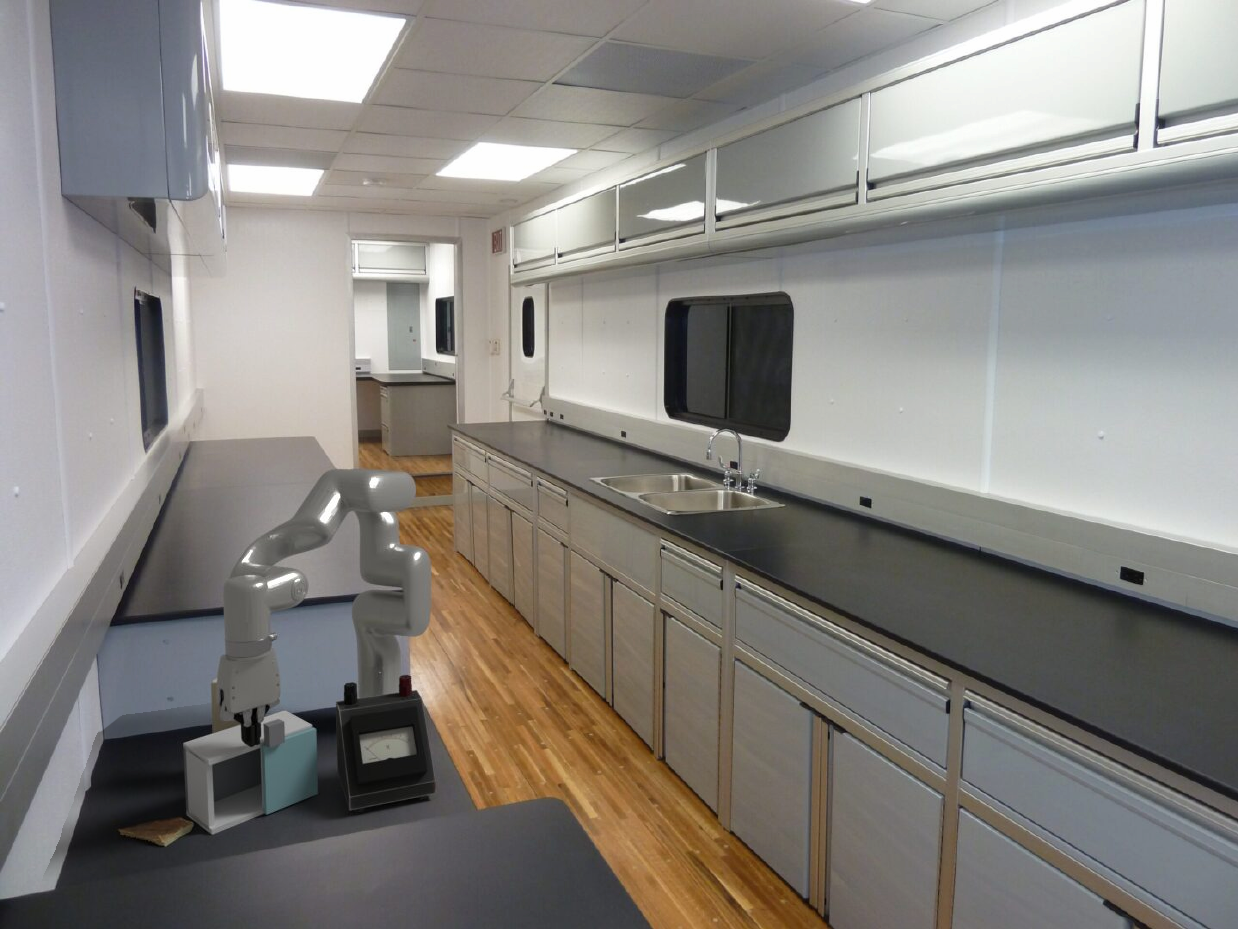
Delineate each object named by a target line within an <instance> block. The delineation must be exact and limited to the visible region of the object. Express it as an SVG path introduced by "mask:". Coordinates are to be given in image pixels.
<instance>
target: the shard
mask: <svg viewBox="0 0 1238 929" xmlns="http://www.w3.org/2000/svg"><path fill="white" fill-rule="evenodd" d="M193 827H194V822H193V821H192V820H191V821H190V820H186V819H184V818H182V817H181V816H179V817H178V816H177V817H172V818H171V817H170V818H166V819H160V820H153V821H149V822H144V823H139V824H136V825H131V826H126V827H125V826H124V827H120V828H117V830H118V831H119V833H120V836H124V835H126V836H125V837H129V836H130V837H129V838H135V837H136V839H138V838H139V840H143V841H144V840H145V841H146V840H148V841H147V842H150V841H152V842H151V843H153V842H154V843H153V844H157V845H158V846H163V847H167V846H168V845H170V844H171V843H173V842H174V841H176V840H178V839H179V838H181V837H183V836H185V835H187V834H188V833H190V832H191V831H192V829H193Z"/></svg>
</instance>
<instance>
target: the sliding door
mask: <svg viewBox="0 0 1238 929" xmlns="http://www.w3.org/2000/svg"><path fill="white" fill-rule="evenodd" d="M263 726H264V745H262V772H263V800H264V814H265V815H270V814H272V813H274V812H276V811H280V810H282V809H284V808H286V807H289V806H291V805H294V804H296V803H299V802H302V801H304V800H306V799H308V798H310V797H314V796H315V795H316V796H317V795H318V794H319V783H318V782H319V780H318V777H319V776H318V747H317V746H318V742H317V740H318V739H317V728H315V727H313V726H312V728H310V729H307V730H305V731H302V732H299V733H296V734H293V735H290V736H287V737H285V726H284V721H282V720H280V719H277V720H274V721H270V722H267V723H264V724H263Z"/></svg>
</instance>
